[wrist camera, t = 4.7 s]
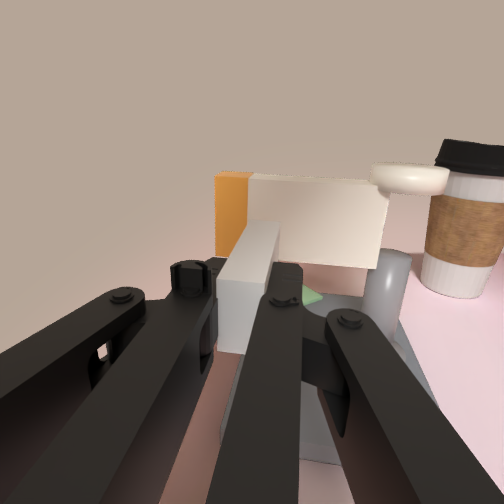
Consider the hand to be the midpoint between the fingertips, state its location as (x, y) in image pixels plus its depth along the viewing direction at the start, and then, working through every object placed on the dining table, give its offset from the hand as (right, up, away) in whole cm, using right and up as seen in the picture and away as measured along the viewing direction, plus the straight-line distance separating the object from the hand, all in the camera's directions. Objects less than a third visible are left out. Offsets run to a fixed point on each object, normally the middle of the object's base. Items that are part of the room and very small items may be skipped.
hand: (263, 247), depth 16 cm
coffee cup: (+21, -4, +20) cm, 29 cm away
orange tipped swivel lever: (+3, -7, +7) cm, 11 cm away
